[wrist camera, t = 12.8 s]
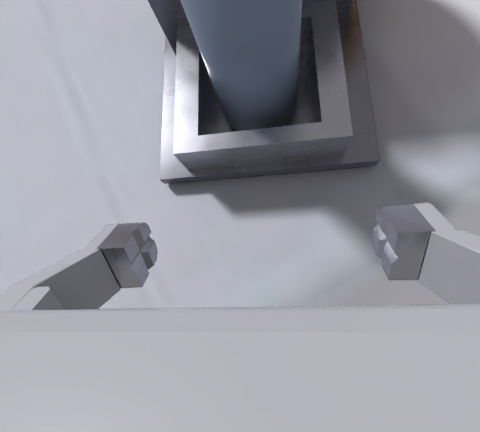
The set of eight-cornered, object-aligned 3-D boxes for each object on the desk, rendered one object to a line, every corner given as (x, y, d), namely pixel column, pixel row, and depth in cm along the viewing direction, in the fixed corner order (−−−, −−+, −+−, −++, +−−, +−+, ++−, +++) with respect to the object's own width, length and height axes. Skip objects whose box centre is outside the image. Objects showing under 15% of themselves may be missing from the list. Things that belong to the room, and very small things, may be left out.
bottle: (213, 127, 19) (98, -109, 7) (236, 65, 20) (164, -237, 8) (284, 143, 18) (279, -105, 6) (305, 76, 19) (336, -254, 7)
